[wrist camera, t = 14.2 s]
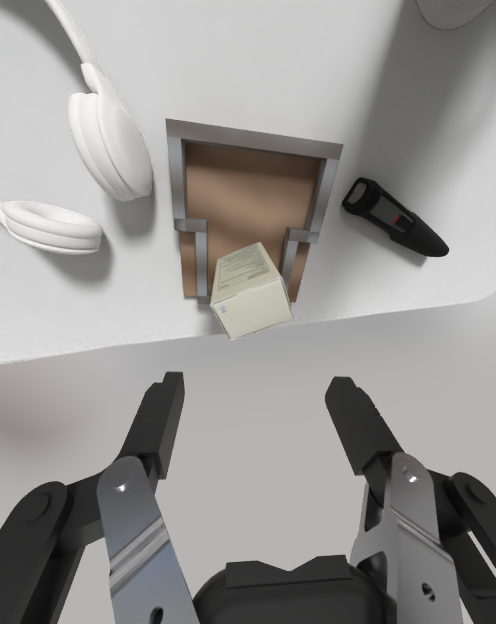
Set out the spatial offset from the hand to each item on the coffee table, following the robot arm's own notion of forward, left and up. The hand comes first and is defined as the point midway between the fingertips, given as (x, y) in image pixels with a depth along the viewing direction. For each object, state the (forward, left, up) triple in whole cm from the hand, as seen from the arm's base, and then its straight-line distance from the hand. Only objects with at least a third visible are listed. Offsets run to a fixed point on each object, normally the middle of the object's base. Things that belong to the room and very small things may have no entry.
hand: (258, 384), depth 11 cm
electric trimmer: (-7, +19, -21) cm, 29 cm away
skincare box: (0, 0, -19) cm, 19 cm away
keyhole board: (-4, 0, -20) cm, 21 cm away
